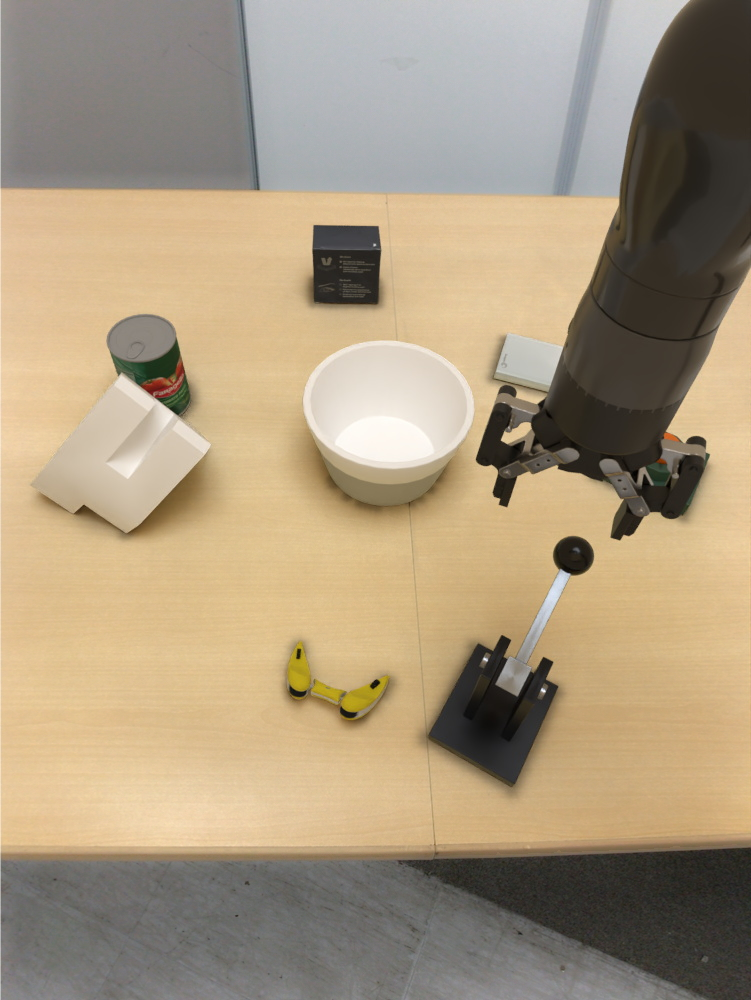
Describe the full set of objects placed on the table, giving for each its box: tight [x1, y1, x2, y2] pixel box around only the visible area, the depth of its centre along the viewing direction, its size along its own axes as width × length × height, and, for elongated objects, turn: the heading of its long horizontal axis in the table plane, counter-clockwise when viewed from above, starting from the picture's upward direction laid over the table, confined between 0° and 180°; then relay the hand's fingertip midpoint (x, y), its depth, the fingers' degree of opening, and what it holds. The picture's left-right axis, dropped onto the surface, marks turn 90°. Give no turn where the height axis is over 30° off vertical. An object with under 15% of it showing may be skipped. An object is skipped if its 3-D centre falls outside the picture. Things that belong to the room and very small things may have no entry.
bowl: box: [301, 339, 476, 507], centre depth 87 cm, size 19×19×11 cm
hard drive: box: [493, 331, 564, 393], centre depth 100 cm, size 2×8×12 cm
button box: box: [603, 431, 711, 516], centre depth 90 cm, size 11×9×4 cm
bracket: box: [427, 634, 559, 788], centre depth 69 cm, size 11×9×12 cm
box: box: [311, 224, 382, 305], centre depth 104 cm, size 9×6×10 cm, turn 92°
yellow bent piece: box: [285, 640, 391, 721], centre depth 73 cm, size 10×6×4 cm, turn 69°
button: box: [657, 431, 680, 464], centre depth 88 cm, size 4×4×2 cm
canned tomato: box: [105, 313, 192, 418], centre depth 90 cm, size 8×8×11 cm
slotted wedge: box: [29, 373, 212, 534], centre depth 81 cm, size 14×11×18 cm
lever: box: [495, 535, 595, 697], centre depth 66 cm, size 15×4×4 cm, turn 150°
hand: (560, 513), depth 56 cm, fingers open, 8 cm apart
